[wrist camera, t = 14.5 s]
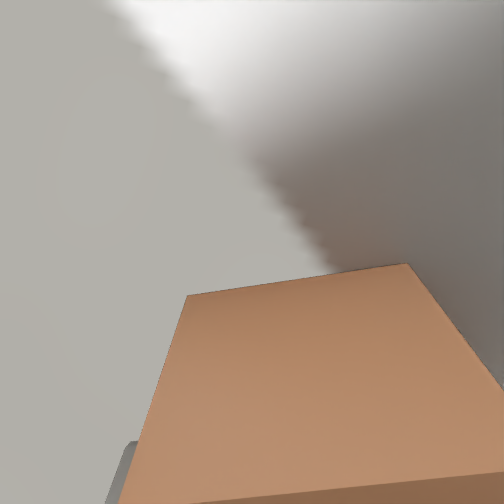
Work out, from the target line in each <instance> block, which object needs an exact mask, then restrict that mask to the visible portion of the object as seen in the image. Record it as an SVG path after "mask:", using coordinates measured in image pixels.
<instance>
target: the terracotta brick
mask: <svg viewBox="0 0 504 504" xmlns="http://www.w3.org/2000/svg"><path fill="white" fill-rule="evenodd" d="M118 504H504V391H503V389H502V388H501V387H500V385H499V384H498V383H497V381H496V380H495V379H494V377H493V376H492V375H491V373H490V372H489V371H488V369H487V368H486V367H485V365H484V364H483V363H482V361H481V360H480V359H479V357H478V356H477V355H476V353H475V352H474V351H473V349H472V348H471V347H470V345H469V344H468V343H467V341H466V340H465V339H464V337H463V336H462V335H461V333H460V332H459V331H458V329H457V328H456V327H455V325H454V324H453V323H452V322H451V320H450V319H449V318H448V316H447V315H446V314H445V312H444V311H443V310H442V308H441V307H440V306H439V304H438V303H437V302H436V300H435V299H434V298H433V296H432V295H431V294H430V292H429V291H428V290H427V288H426V287H425V286H424V284H423V283H422V282H421V280H420V279H419V278H418V276H417V275H416V274H415V272H414V271H413V270H412V268H411V267H410V266H409V264H408V263H404V264H397V265H390V266H383V267H377V268H370V269H363V270H356V271H350V272H343V273H336V274H329V275H323V276H316V277H309V278H302V279H296V280H289V281H282V282H275V283H269V284H262V285H255V286H249V287H242V288H235V289H228V290H221V291H215V292H209V293H201V294H195V295H188V296H187V298H186V301H185V304H184V307H183V310H182V313H181V316H180V319H179V322H178V325H177V328H176V331H175V334H174V337H173V340H172V343H171V346H170V349H169V352H168V355H167V358H166V361H165V363H164V366H163V369H162V373H161V375H160V378H159V381H158V384H157V387H156V390H155V393H154V397H153V399H152V403H151V406H150V408H149V411H148V414H147V417H146V420H145V423H144V426H143V429H142V432H141V435H140V438H139V441H138V444H137V447H136V450H135V453H134V456H133V459H132V462H131V465H130V468H129V471H128V474H127V477H126V480H125V483H124V486H123V489H122V492H121V495H120V498H119V501H118Z"/></svg>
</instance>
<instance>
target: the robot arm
mask: <svg viewBox="0 0 504 504" xmlns="http://www.w3.org/2000/svg"><path fill="white" fill-rule="evenodd" d="M137 444H138V441H131V442H130V443H129V444H128V445H127V446H126V448H125V450H124V453H123V455H122V458H121V461H120V463H119V466H118V469H117V471H116V474H115V477H114V480H113V482H112V485H111V488H110V491H109V493H108V496H107V499H106V501H105V504H118V501H119V498H120V495H121V492H122V489H123V486H124V483H125V480H126V477H127V474H128V471H129V468H130V465H131V462H132V459H133V456H134V453H135V450H136V447H137Z"/></svg>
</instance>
